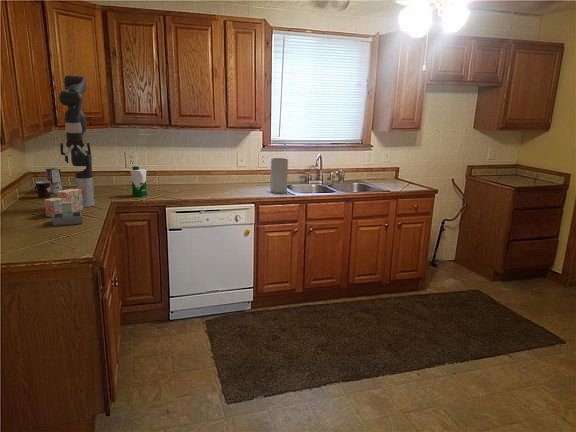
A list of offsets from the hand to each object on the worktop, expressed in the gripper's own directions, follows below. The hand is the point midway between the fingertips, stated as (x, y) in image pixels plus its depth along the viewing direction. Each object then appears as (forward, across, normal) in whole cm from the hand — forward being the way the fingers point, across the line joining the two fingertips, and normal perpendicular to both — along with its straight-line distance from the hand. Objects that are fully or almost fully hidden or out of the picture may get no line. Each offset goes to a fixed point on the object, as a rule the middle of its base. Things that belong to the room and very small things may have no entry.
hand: (76, 162), depth 225 cm
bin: (+30, +6, +10) cm, 32 cm away
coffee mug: (+32, +22, -60) cm, 72 cm away
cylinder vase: (+32, -136, -37) cm, 145 cm away
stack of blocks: (+31, +8, -14) cm, 35 cm away
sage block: (+29, +6, +10) cm, 31 cm away
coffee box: (+32, +16, -79) cm, 86 cm away
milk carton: (+32, -37, -50) cm, 70 cm away
